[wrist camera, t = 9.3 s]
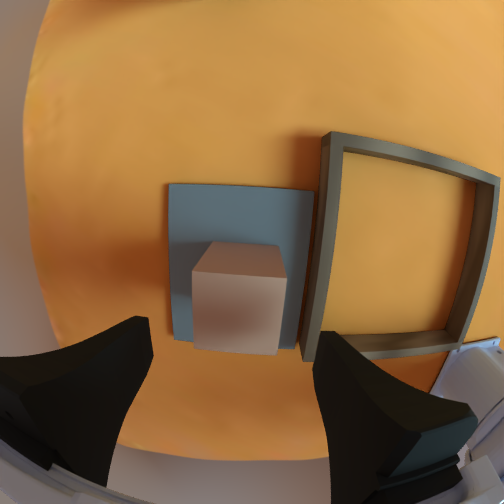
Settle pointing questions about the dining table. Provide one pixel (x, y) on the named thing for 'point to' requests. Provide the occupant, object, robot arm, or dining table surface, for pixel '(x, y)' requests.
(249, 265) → the block
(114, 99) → the dining table surface
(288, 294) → the mat
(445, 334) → the grey square frame
